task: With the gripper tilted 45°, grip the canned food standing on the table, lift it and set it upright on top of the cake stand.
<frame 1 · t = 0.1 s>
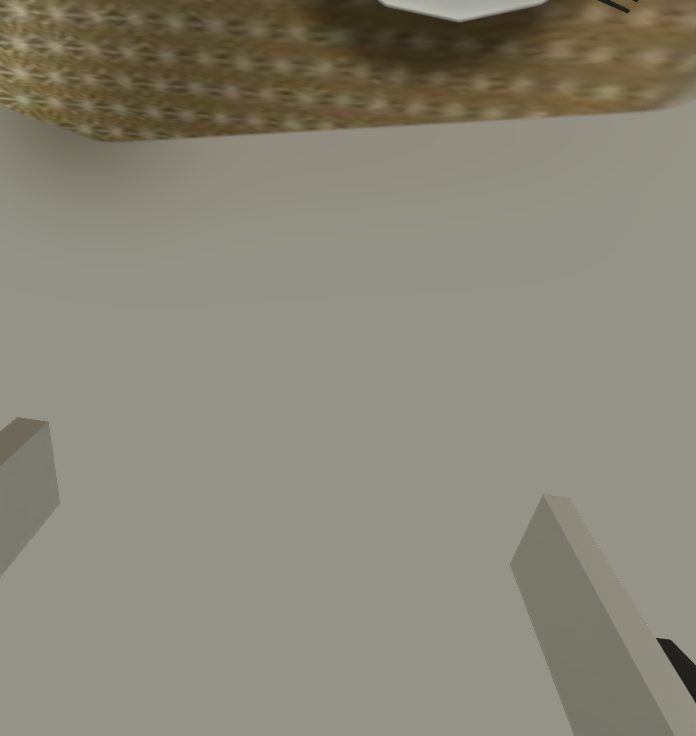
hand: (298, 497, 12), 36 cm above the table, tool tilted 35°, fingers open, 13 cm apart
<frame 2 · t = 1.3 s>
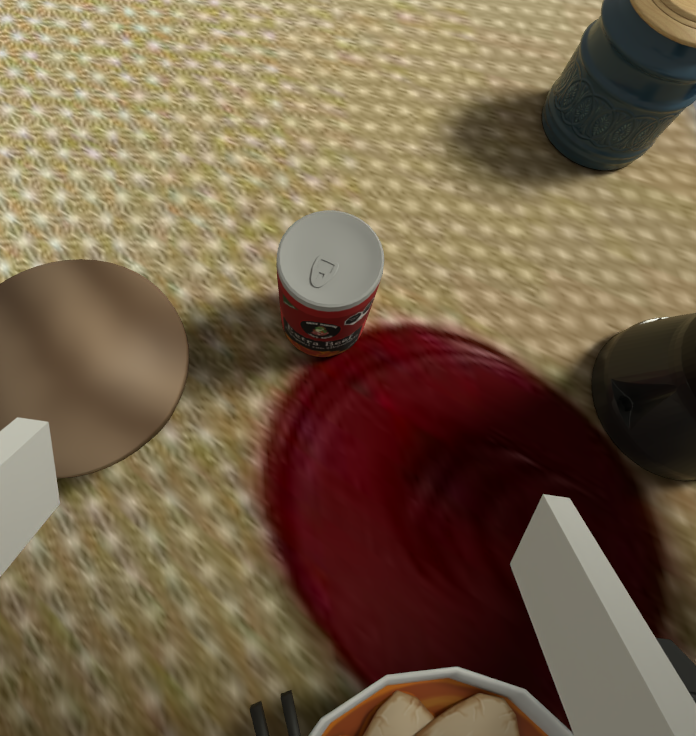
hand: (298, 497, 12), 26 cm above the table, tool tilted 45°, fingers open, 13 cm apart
canister: (590, 129, 54), on the table
canned food: (323, 320, 42), on the table
cake stand: (107, 386, 38), on the table
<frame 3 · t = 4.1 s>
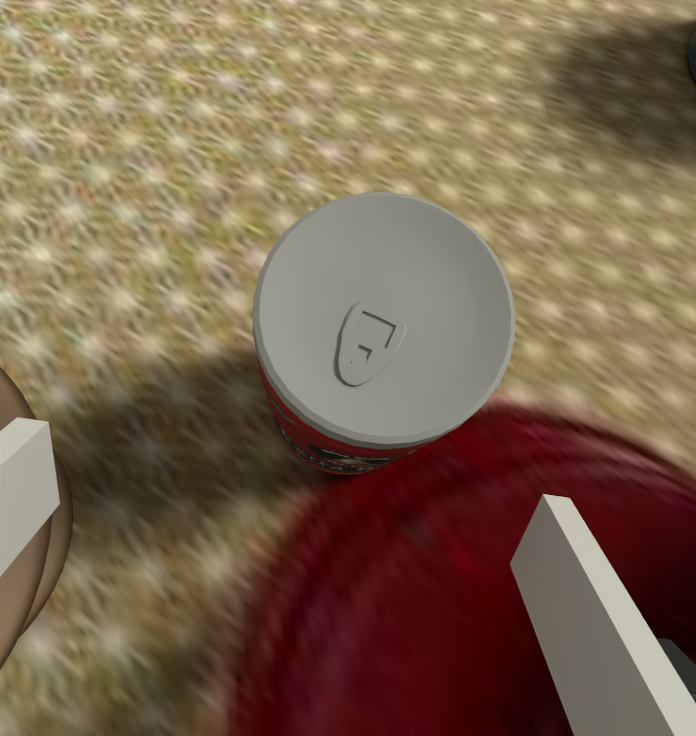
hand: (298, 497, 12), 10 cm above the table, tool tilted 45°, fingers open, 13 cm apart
canned food: (346, 398, 23), on the table
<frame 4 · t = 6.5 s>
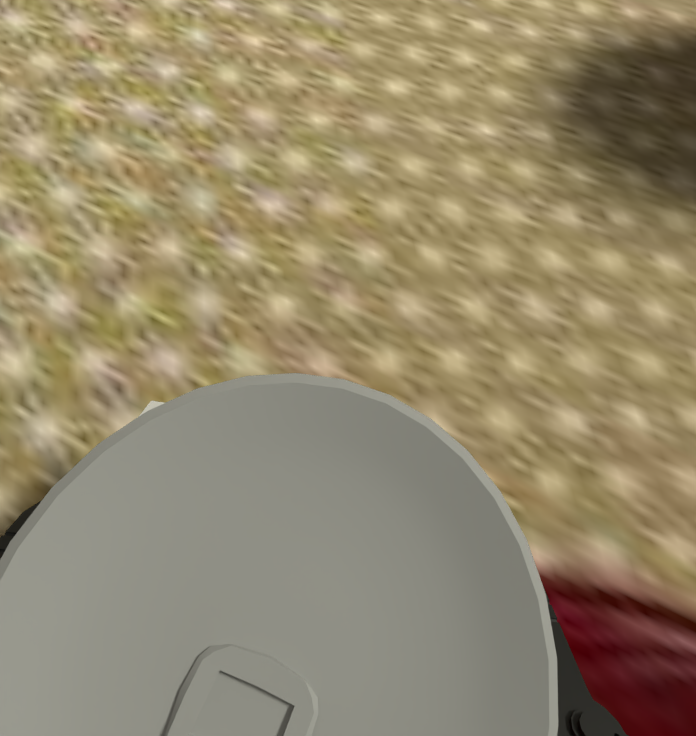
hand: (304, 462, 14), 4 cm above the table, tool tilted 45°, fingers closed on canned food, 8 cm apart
canned food: (286, 570, 16), on the table, touching gripper
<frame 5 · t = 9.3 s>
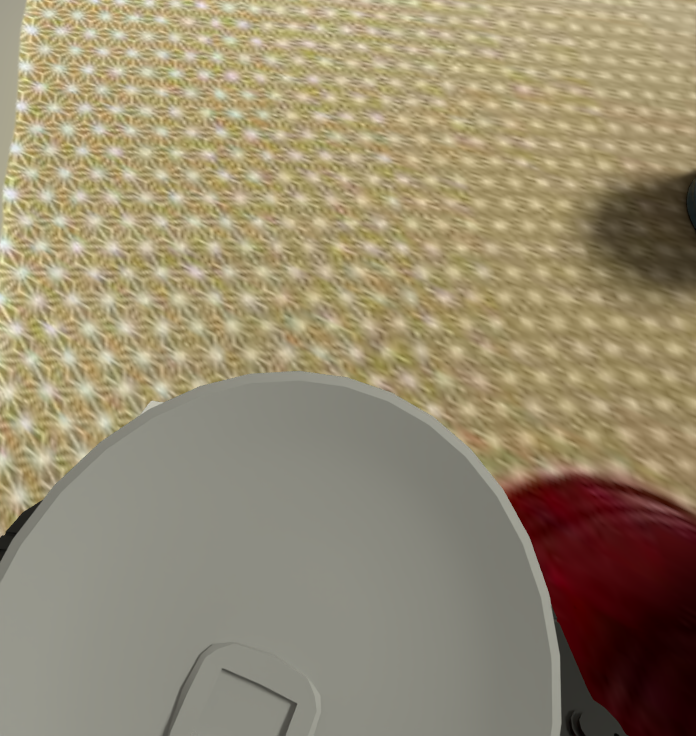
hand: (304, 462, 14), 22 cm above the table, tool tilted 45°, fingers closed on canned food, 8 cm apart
canned food: (287, 569, 16), point 18 cm above the table, touching gripper
when the fingers open (12 cm above the table, at t = 12.1 s): canned food drops 1 cm, resting on cake stand.
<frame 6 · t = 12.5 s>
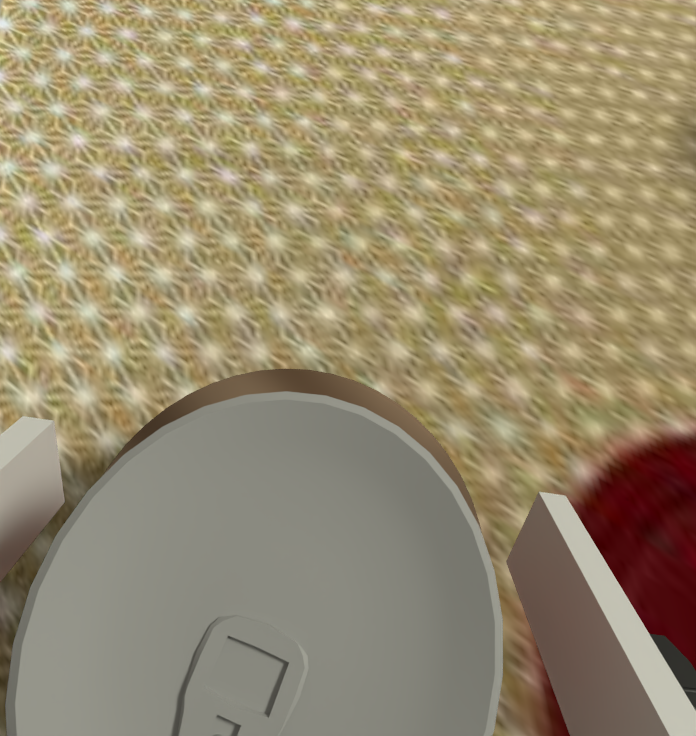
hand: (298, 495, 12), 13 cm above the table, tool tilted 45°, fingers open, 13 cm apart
canned food: (285, 564, 18), point 7 cm above the table, touching cake stand
cake stand: (288, 553, 24), on the table
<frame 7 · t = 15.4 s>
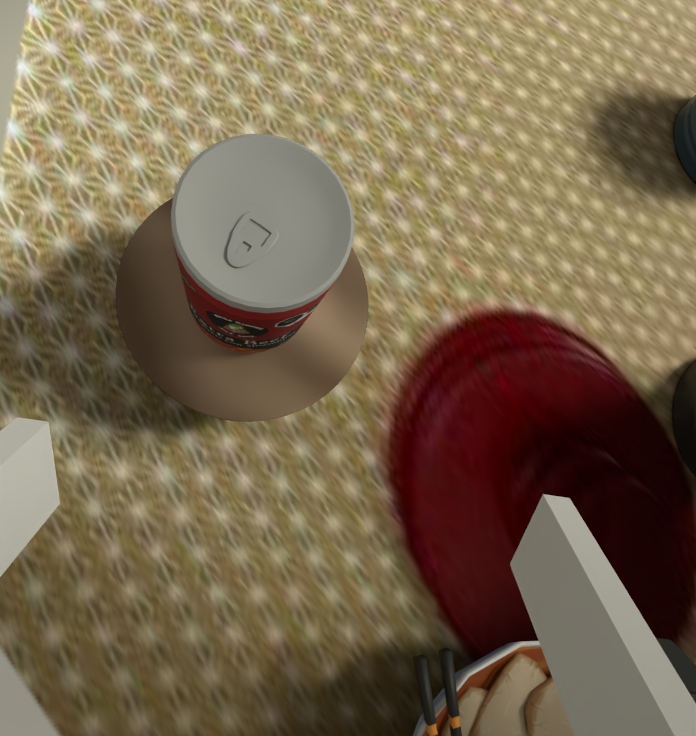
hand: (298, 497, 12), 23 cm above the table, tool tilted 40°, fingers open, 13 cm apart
canned food: (250, 296, 30), point 7 cm above the table, touching cake stand
cake stand: (245, 322, 36), on the table
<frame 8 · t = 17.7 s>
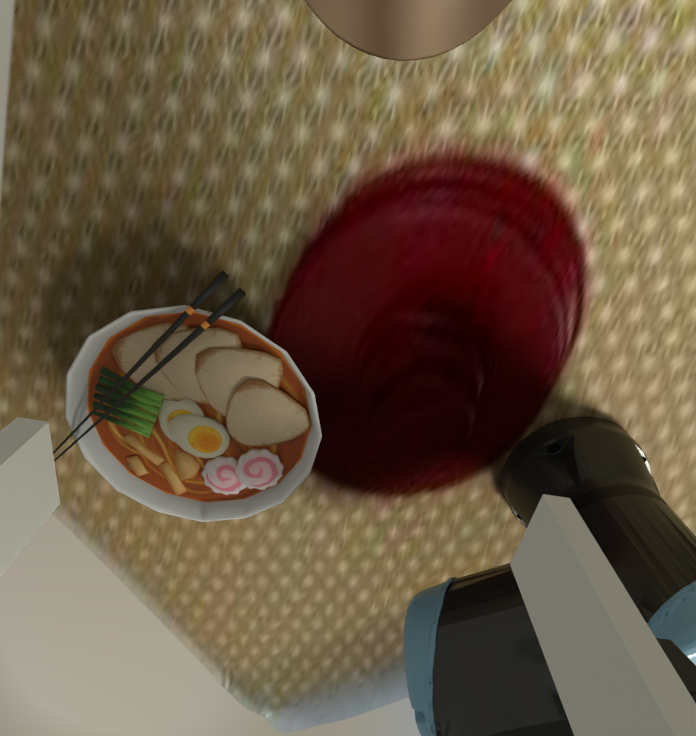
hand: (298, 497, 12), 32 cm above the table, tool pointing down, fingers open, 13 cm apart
ramen bowl: (217, 386, 47), on the table
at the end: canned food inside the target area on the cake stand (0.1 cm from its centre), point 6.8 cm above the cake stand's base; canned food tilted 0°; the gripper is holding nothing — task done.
